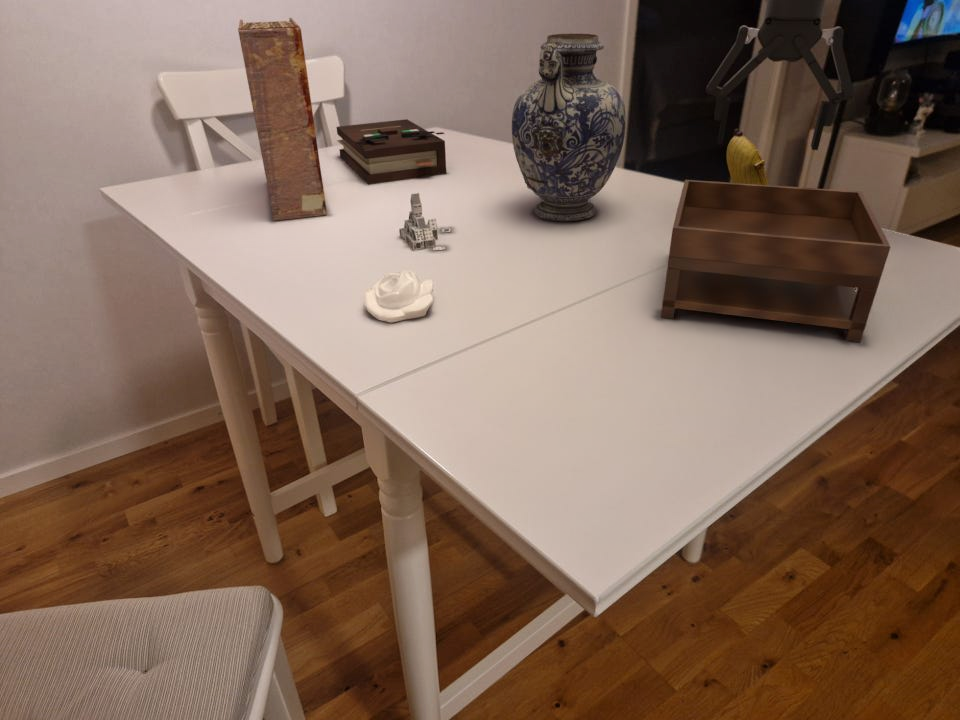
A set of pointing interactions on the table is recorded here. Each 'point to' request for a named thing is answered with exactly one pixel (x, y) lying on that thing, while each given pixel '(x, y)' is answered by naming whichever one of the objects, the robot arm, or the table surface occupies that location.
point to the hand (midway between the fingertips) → (766, 145)
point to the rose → (399, 297)
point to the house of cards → (420, 228)
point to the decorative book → (392, 151)
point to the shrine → (745, 161)
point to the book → (283, 117)
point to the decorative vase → (568, 129)
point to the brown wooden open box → (775, 254)
